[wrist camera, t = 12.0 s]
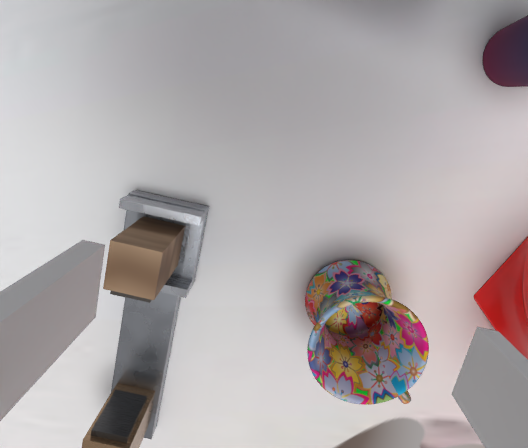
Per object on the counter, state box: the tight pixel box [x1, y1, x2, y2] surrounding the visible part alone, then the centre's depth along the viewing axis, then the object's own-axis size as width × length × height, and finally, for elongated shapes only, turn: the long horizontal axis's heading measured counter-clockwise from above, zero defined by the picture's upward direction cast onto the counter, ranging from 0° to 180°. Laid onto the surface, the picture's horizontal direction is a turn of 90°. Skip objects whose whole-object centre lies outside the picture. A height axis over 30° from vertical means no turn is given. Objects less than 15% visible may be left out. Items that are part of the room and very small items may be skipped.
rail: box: [82, 190, 209, 448], centre depth 39 cm, size 26×7×10 cm, turn 168°
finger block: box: [103, 216, 185, 303], centre depth 36 cm, size 5×4×8 cm
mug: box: [305, 260, 429, 404], centre depth 38 cm, size 12×9×11 cm
